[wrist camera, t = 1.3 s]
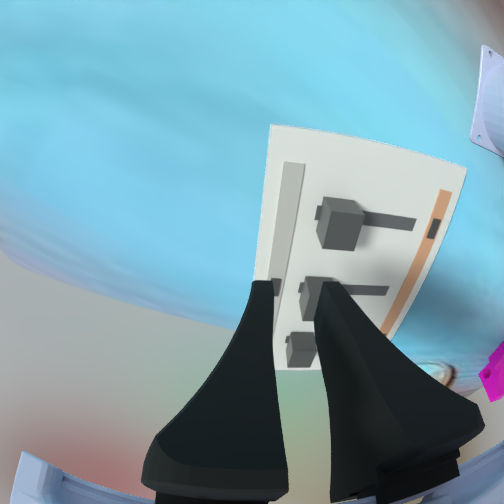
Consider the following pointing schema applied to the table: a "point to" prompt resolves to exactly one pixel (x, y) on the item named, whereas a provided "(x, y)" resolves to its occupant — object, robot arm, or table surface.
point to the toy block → (494, 375)
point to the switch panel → (372, 231)
